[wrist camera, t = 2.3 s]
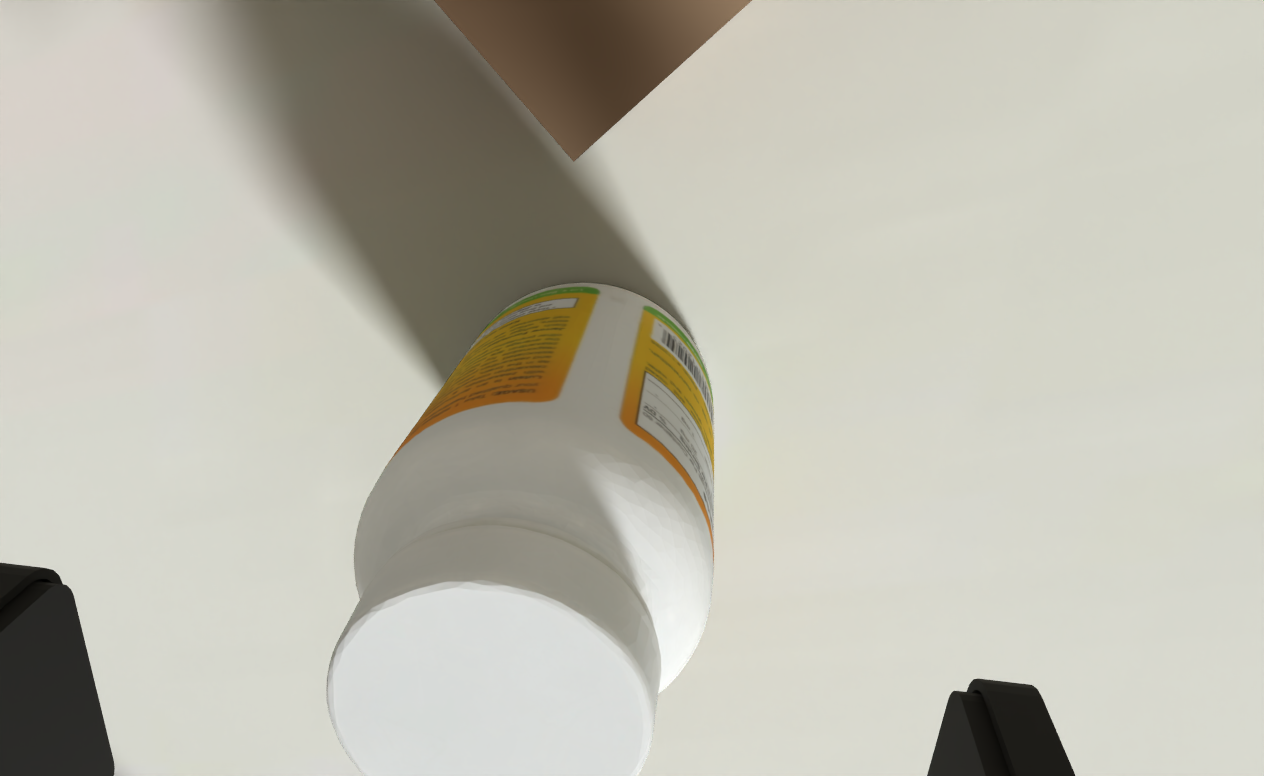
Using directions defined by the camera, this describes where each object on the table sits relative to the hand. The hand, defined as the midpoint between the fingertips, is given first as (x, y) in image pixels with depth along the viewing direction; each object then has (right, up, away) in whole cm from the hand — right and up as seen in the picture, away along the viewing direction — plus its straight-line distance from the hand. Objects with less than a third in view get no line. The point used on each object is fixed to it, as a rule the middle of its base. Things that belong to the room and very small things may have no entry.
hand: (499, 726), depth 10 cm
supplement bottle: (+1, +3, +10) cm, 11 cm away
